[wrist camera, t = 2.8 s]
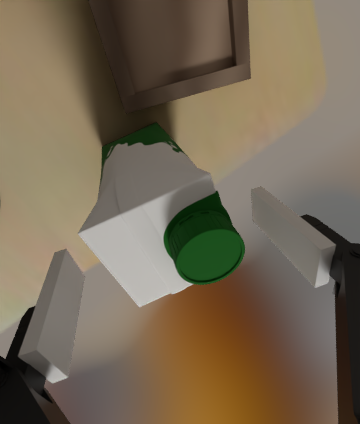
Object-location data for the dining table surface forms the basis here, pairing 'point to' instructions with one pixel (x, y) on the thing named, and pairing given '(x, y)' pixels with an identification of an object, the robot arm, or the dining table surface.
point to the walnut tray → (172, 47)
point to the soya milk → (159, 219)
